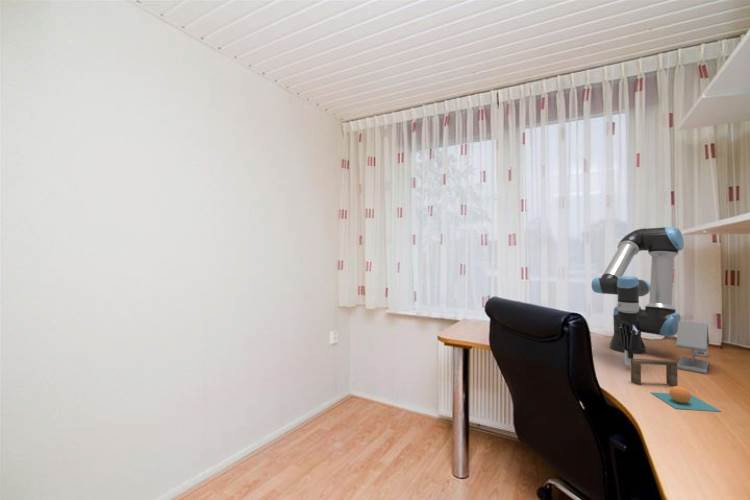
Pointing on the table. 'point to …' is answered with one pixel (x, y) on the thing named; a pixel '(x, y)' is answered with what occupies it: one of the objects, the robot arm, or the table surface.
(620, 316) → the robot arm
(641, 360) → the bridge
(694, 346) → the folded metal stand
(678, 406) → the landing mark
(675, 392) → the ball
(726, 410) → the table surface
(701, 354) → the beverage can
